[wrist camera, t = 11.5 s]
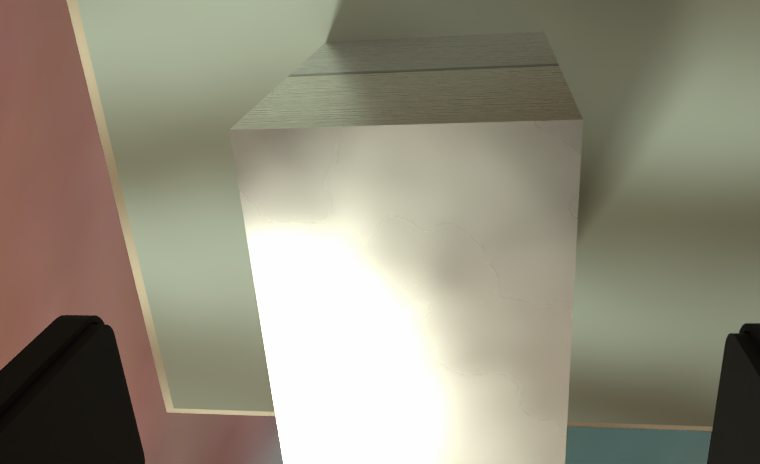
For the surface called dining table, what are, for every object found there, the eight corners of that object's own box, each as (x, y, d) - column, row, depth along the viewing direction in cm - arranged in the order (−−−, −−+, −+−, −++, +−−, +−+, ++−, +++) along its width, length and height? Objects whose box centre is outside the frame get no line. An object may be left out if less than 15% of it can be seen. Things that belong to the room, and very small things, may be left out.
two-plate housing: (543, 31, 16) (582, 119, 10) (536, 301, 19) (562, 504, 12) (325, 42, 17) (229, 129, 10) (351, 300, 20) (288, 491, 13)
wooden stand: (728, 358, 23) (772, 442, 20) (206, 348, 26) (161, 420, 22) (821, -210, 17) (915, -240, 13) (106, -145, 19) (18, -154, 16)
